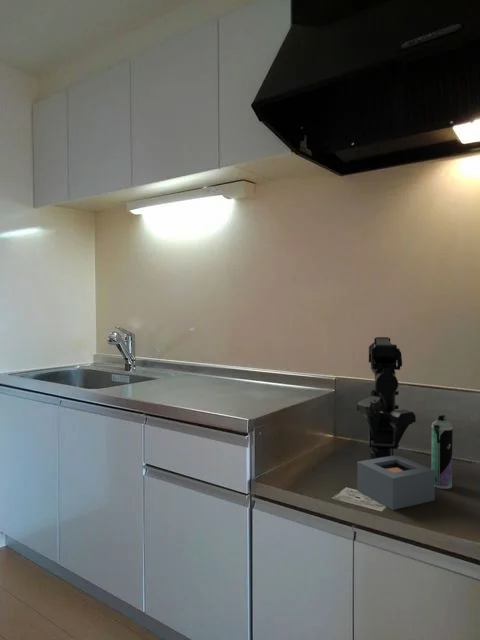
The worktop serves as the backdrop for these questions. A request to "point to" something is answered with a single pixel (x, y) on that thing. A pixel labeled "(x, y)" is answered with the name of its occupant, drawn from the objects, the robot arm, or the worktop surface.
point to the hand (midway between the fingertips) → (384, 440)
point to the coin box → (396, 481)
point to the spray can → (442, 452)
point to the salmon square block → (394, 469)
